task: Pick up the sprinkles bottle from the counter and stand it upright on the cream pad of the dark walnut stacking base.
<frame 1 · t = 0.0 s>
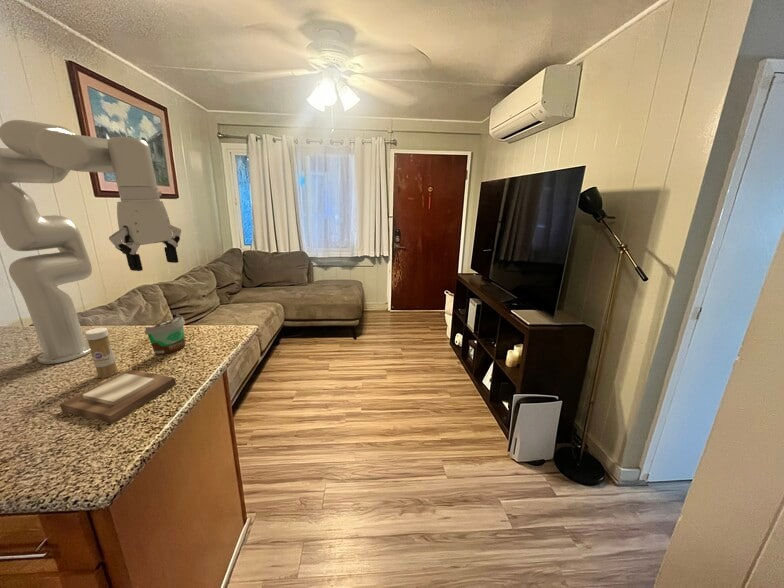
hand: (155, 266, 82), 31 cm above the worktop, tool pointing down, fingers open, 9 cm apart
food container: (176, 350, 106), on the worktop
sprinkles bottle: (108, 374, 92), on the worktop
stacking base: (122, 396, 81), on the worktop
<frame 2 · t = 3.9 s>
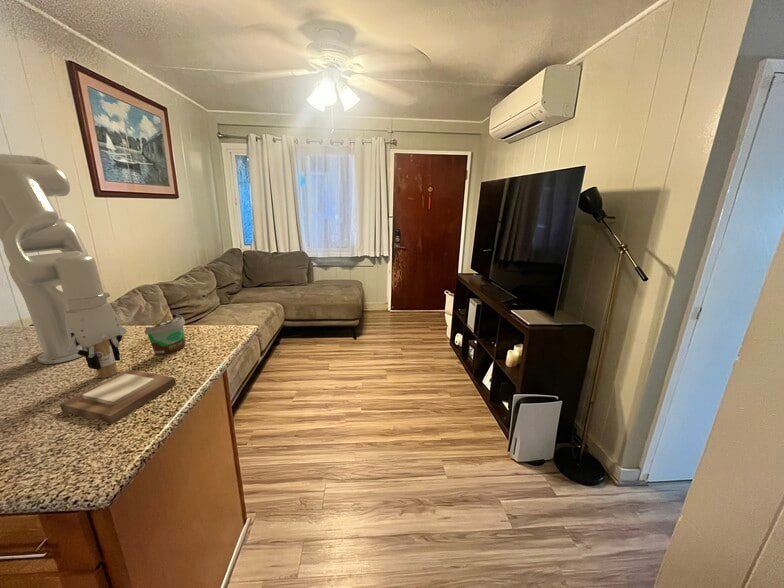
hand: (105, 363, 90), 3 cm above the worktop, tool pointing down, fingers closed on sprinkles bottle, 4 cm apart
sprinkles bottle: (109, 374, 92), on the worktop, touching gripper
everything else where it was.
when the fingers open (8 cm above the worktop, at t = 9.9 s): sprinkles bottle drops 1 cm, resting on stacking base.
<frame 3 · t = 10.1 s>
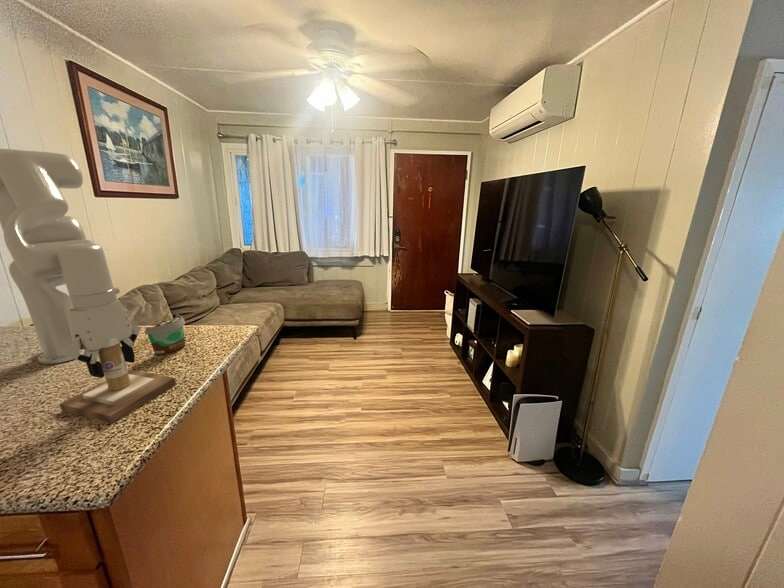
hand: (114, 368, 79), 8 cm above the worktop, tool pointing down, fingers open, 6 cm apart
sprinkles bottle: (120, 386, 81), point 3 cm above the worktop, touching stacking base
everything else where it was.
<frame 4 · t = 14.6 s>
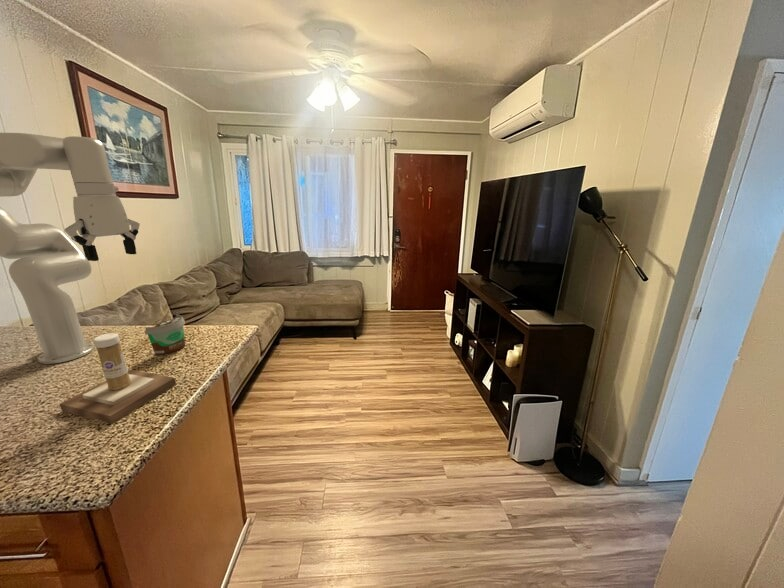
hand: (113, 257, 88), 32 cm above the worktop, tool pointing down, fingers open, 9 cm apart
nothing on the worktop moved.
at the end: sprinkles bottle inside the target area on the stacking base (0.4 cm from its centre), point 2.8 cm above the stacking base's base; sprinkles bottle tilted 0°; the gripper is holding nothing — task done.
